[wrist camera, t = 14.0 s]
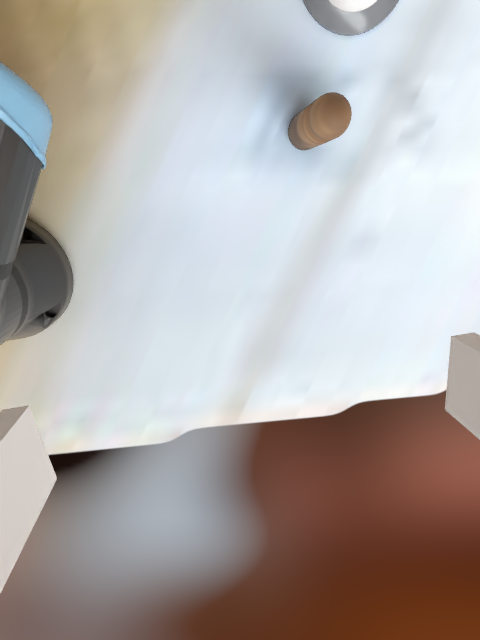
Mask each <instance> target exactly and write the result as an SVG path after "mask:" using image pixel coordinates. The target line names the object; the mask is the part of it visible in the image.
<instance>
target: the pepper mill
mask: <svg viewBox="0 0 480 640" xmlns="http://www.w3.org/2000/svg"><path fill="white" fill-rule="evenodd" d="M350 120H351V107H350V104H349V102H348V100H347V99H346V98H345V97H344V96H343V95H341V94H339V93H334V92H331V93H326V94H324V95H322V96H320V97H319V98H318V99H316V100H315V101H314V102H313V103H311V104H310V105H309V106H308V107H306V108H305V109H304V110H303V111H301V112H300V113H299V114H298V115H296V116H295V117H294V118H293V119H292V121H291V123H290V125H289V130H288V135H289V139H290V141H291V143H292V145H293V146H294V147H296V148H297V149H300V150H308V149H311V148H314V147H316V146H318V145H321V144H323V143H326V142H328V141H331V140H333V139H336V138H337V137H339V136H341V135H342V134H343V133H344V132H345V131H346V129H347V128H348V126H349V123H350Z"/></svg>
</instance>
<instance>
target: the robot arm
mask: <svg viewBox="0 0 480 640" xmlns="http://www.w3.org/2000/svg"><path fill="white" fill-rule="evenodd" d="M51 130H52V116H51V113H50V111H49V108H48V106H47V104H46V103H45V102H44V100H43V98H42V97H41V96H40V95H39V94H38V93H37V92H36V91H35V90H34V89H33V88H32V87H31V86H30V85H29V84H28V83H27V82H26V81H24V80H23V79H22V78H21V77H19V76H18V75H17V74H16V73H14V72H13V71H12V70H11V69H9V68H8V67H7V66H5V65H4V64H3V63H1V62H0V345H1V344H2V343H4V342H5V341H8V340H15V339H21V338H26V337H29V336H32V335H35V334H37V333H39V332H41V331H43V330H45V329H46V328H48V327H49V326H50V325H51V324H53V323H54V322H55V321H56V320H57V319H58V318H59V317H60V316H61V315H62V314H63V313H64V311H65V310H66V308H67V306H68V304H69V302H70V299H71V296H72V291H73V275H72V270H71V266H70V263H69V261H68V258H67V256H66V254H65V252H64V251H63V249H62V248H61V246H60V245H59V243H58V242H57V241H56V240H55V239H54V238H53V237H52V236H51V235H50V234H49V233H48V232H47V231H46V230H45V229H43V228H42V227H41V226H39V225H38V224H36V223H34V222H33V221H31V220H29V219H27V217H28V214H29V210H30V207H31V203H32V200H33V196H34V193H35V189H36V186H37V182H38V179H39V175H40V172H41V169H45V167H46V158H45V155H46V151H47V146H48V142H49V138H50V134H51ZM445 410H446V411H447V412H448V413H450V414H451V415H452V416H453V417H454V418H455V419H457V420H458V421H459V422H460V423H461V424H462V425H463V426H464V427H466V428H467V429H468V430H469V431H470V432H471V433H473V434H474V435H475V436H476V437H477V438H479V439H480V335H478V334H476V333H469V334H462V335H456V336H451V346H450V357H449V369H448V381H447V393H446V404H445ZM56 479H57V478H56V475H55V472H54V470H53V467H52V464H51V462H50V459H49V456H48V454H47V451H46V448H45V446H44V443H43V441H42V438H41V435H40V433H39V430H38V427H37V425H36V422H35V419H34V417H33V414H32V411H31V409H30V406H23V407H17V408H11V409H5V410H2V411H1V412H0V593H1V591H2V589H3V587H4V585H5V583H6V581H7V579H8V577H9V575H10V573H11V571H12V569H13V567H14V565H15V563H16V560H17V559H18V557H19V555H20V552H21V551H22V548H23V546H24V544H25V542H26V540H27V538H28V536H29V534H30V532H31V530H32V528H33V526H34V524H35V522H36V520H37V518H38V516H39V514H40V512H41V510H42V508H43V506H44V504H45V502H46V500H47V498H48V496H49V494H50V492H51V490H52V488H53V486H54V483H55V482H56Z"/></svg>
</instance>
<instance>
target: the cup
mask: <svg viewBox="0 0 480 640" xmlns="http://www.w3.org/2000/svg"><path fill="white" fill-rule="evenodd" d="M376 1H377V0H329V2H330V3H332V4H333V5H334V6H335V7H337V8H339V9H341V10H343V11H347V12H358V11H362V10H364V9H366V8H368V7H370V6H371V5H373V4H374V3H375V2H376Z"/></svg>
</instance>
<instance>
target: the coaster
mask: <svg viewBox="0 0 480 640" xmlns="http://www.w3.org/2000/svg"><path fill="white" fill-rule="evenodd" d="M303 1H304V4H305V6H306V8H307V9H308V11H309V13H310V14H311V15H312V17H313V18H314V19H315V20H316V21H317V22H318V23H319V24H320V25H321V26H323V27H324V28H325V29H327V30H329V31H331V32H333V33H336V34H339V35H346V36H349V35H358V34H362V33H365V32H367V31H369V30H371V29H373V28H374V27H376V26H377V25H378V24H380V23H381V22H382V21H383V20H384V19H385V18H386V17H387V16H388V15H389V14H390V13H391V11H392V10H393V9H394V7H395V6H396V4H397V3H398V1H399V0H377V1H376V2H375V3H374V4H373V5H371V6H370V7H368V8H366V9H364V10H362V11H358V12H347V11H343V10H341V9H339V8H337V7H335V6H334V5H333V4H332V3H330V2H329V0H303Z"/></svg>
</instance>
